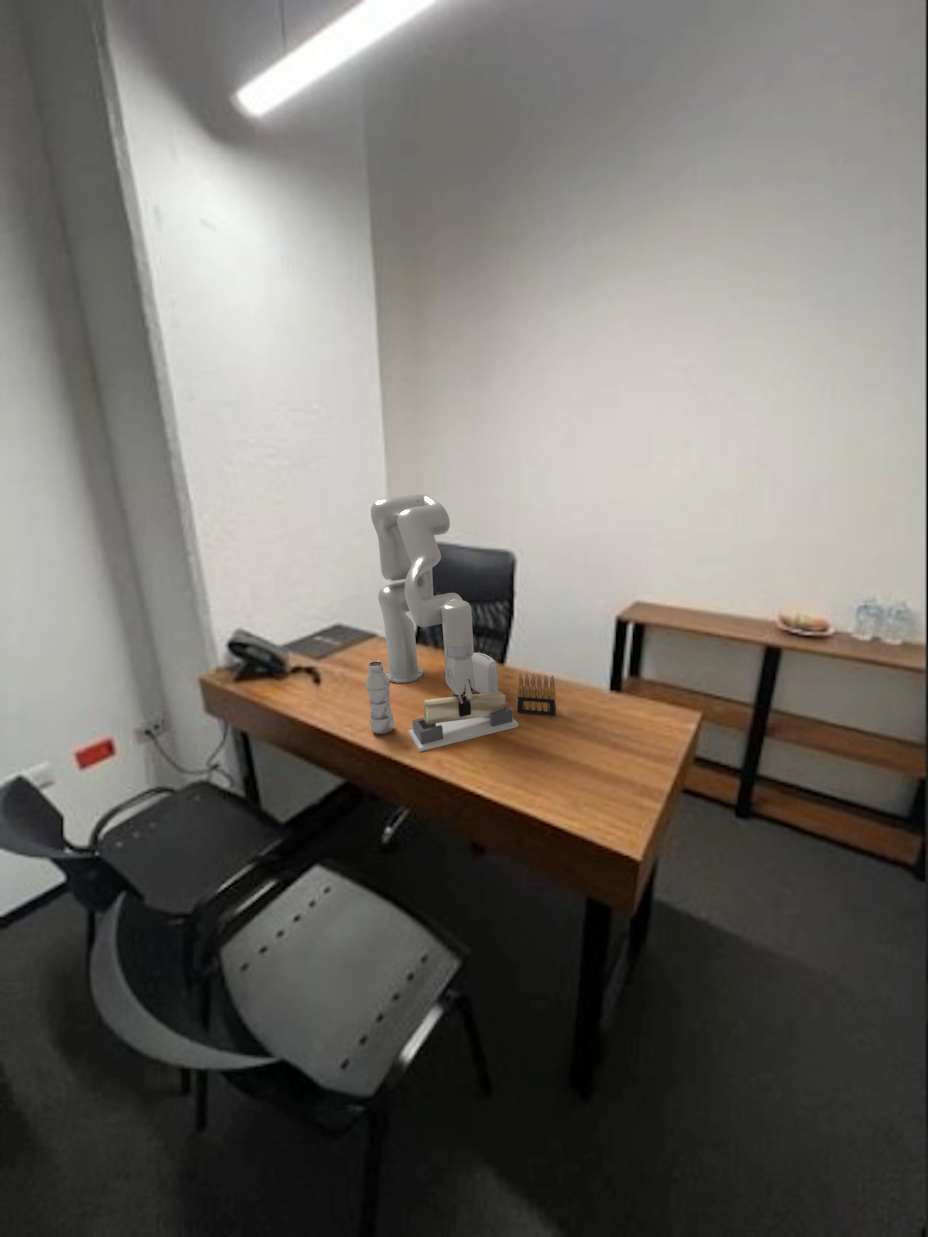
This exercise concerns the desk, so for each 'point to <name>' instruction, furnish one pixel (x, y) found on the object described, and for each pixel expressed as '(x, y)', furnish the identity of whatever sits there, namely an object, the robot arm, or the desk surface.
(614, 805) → the desk surface
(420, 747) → the end cap board
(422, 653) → the desk surface
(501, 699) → the slat
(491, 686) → the photo printer
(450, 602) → the robot arm
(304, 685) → the desk surface
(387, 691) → the plastic bottle
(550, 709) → the ammunition clip
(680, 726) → the desk surface
